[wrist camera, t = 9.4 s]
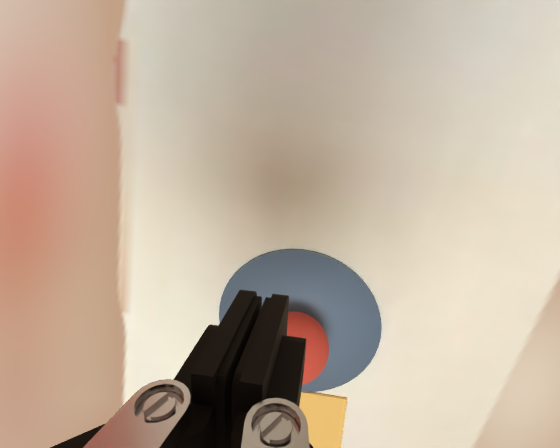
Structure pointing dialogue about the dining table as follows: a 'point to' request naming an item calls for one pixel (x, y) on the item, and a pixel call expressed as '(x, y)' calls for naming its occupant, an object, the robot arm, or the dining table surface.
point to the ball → (309, 343)
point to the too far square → (324, 418)
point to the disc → (318, 306)
